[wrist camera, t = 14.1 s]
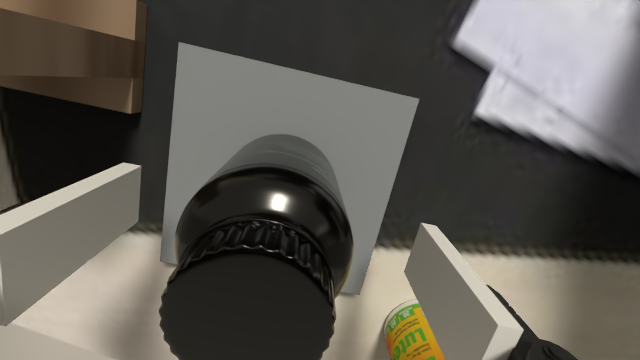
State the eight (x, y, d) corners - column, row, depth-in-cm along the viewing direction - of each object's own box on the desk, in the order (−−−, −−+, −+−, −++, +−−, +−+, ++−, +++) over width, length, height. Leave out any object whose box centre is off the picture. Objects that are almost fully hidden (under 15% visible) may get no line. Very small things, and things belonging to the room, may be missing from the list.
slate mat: (413, 98, 20) (419, 98, 19) (357, 286, 24) (359, 294, 23) (185, 44, 18) (178, 42, 17) (166, 253, 22) (159, 261, 21)
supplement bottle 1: (291, 252, 21) (273, 449, 10) (206, 194, 20) (69, 343, 8) (357, 177, 20) (425, 304, 9) (270, 108, 19) (211, 148, 7)
